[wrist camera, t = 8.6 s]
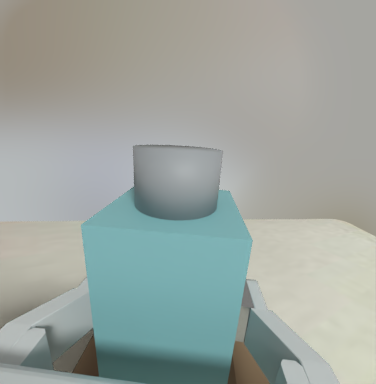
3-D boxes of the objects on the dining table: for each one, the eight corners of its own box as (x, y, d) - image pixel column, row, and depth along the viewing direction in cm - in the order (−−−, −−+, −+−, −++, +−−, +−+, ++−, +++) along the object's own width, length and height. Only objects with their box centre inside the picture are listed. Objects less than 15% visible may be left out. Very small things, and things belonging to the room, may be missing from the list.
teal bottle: (109, 466, 8) (71, 147, 4) (141, 355, 13) (136, 142, 9) (209, 483, 8) (266, 160, 4) (207, 363, 13) (234, 148, 8)
